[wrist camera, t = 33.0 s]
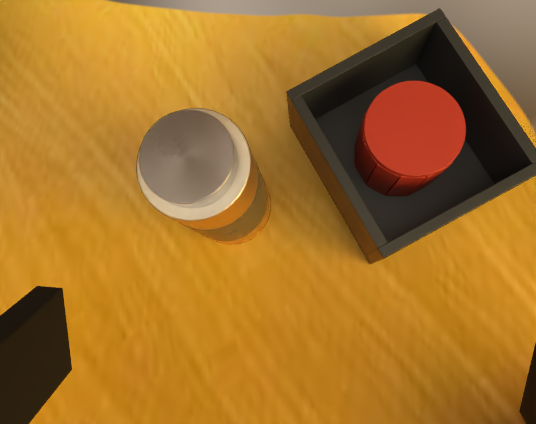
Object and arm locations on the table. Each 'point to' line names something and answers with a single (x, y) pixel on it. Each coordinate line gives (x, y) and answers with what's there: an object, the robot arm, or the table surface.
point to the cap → (408, 138)
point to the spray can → (203, 175)
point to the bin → (356, 105)
